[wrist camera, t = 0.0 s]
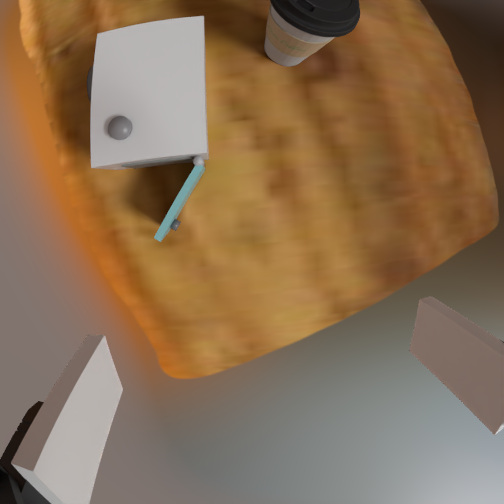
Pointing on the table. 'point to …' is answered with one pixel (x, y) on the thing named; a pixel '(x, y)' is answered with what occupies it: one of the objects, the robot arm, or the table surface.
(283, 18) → the coffee cup
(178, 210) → the side door
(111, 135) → the cabinet body
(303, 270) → the table surface
